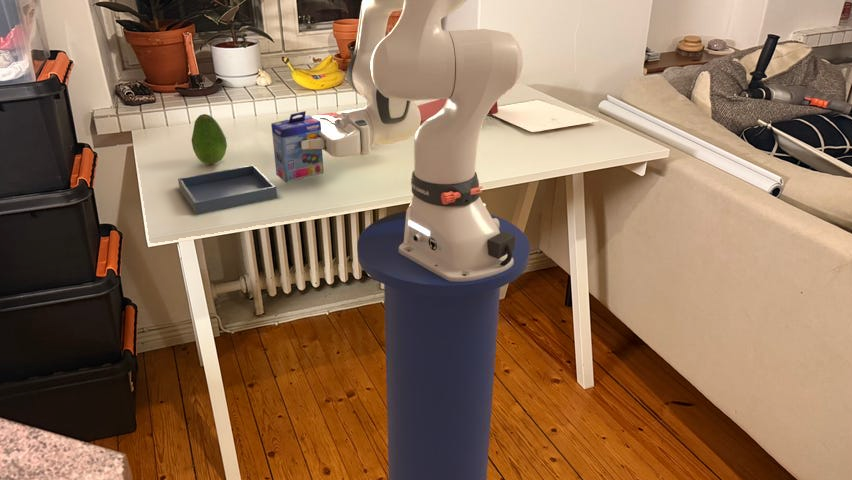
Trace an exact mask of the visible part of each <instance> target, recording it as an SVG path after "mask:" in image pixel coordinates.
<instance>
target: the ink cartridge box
mask: <svg viewBox="0 0 852 480" xmlns="http://www.w3.org/2000/svg"><path fill="white" fill-rule="evenodd" d="M306 112H307V111H305V110H304V111H300V112H295V113H291V114H290V116H289V119H284V120H280V121H276V122H272V123H271V134H272V144H273V155H274V163H275V174H276V176H277V177H278V178H279V179H281V180H282V181H283V182H284V183H289V182H293V181H297V180H302V179H305V178H309V177H313V176H317V175H321V174H324V158H323V149H302V148H301V147H300V144H299V141H300V140H303V139H308V140H309V139H316V138H319V137H321V136H319V135H318V132H319V131H321V121H319V120H317V119H316V118H314V117H312V116H311V115H306ZM297 116H298V117H297Z"/></svg>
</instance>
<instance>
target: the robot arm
mask: <svg viewBox="0 0 852 480" xmlns="http://www.w3.org/2000/svg"><path fill="white" fill-rule="evenodd" d="M467 1H468V0H361V5H360V12H359V17H358V18H359V19H358V26H357V33H356V42H355V47H354V50H353V53H352V56H351V58H350V60H349V63H348V66H347V70H346V79H347V83H348V85H349V87H350V88H351V89H352V90H353V91H354V92H356V94H358V95H360V96H362V97H363V98H364V99H365V100H366V106H365V107H363V108H357V109H349V110H350V111H346V110H343V111H344V112H342V113H341V114H340V116H339V118H337V119H335V118H333V117H331V116H328V115H321V116H317V115H312V116H311V117H314V118H316V119H317V120H319V121H321V131H319V132H318V135H319V136H321V137H319V138H316V139H309V140H308V139H303V140H300V141H299V144H300V147H301V148H302V149H322V151H324V152H326V153H327V154H329V155H330V156H331V157H335V158H343V157H351V156H356V155H361V156H367V155H370V154H371V147H373V146H376V145H391V144H394V143H395V144H396V143H398V142H402V141H405V140H408V139H410V138H412V137H414V138H413V149H414V150H413V171H412V172H411V178H410V186H411V193H412V197H411V199H410V203H409V205H408V207H407V209H406V210H405V211H406V221H405V233H404V242H403V243H402V244H401V245H400V246H399V251H398V252H399V253H400V254H401V255H403V256H405V257H406V258H408V259H410V260H412V261H414V262H415V263H417V264H419V265H421V266H422V267H424V268H426V269H428V270H430V271H431V272H433V273H435V274H437V275H438V276H440V277H442V278H444V279H446V280H448V281H450V282H466V281H473V280H478V279H483V278H487V277H490V276H493V275H496V274H499V273H502V272H504V271H506V270H507V269H509V268H510V267H511V266H512V265H513V264H514V260H513V258H512V251H513V250H514V247H515V235H513V234H510V233H508V232H505V231H503V232H501V233H500V231H499V227H500V224H499V220H498V219H497V218H493V219H492V217H491V216H490V212H489V210H488V209H487V206H486V203H484V202H483V201H482V198H481V193H483V192H484V191H482V189H483V186H480V181H479V178H478V173H477V171H476V161H477V150H478V142H479V136H480V132H481V129H482V126H483V123H484V122H485V119H486V117H487V115H488V114H489V113H488V112H489V111H490V109H491V108H492V106H493V105H494V104H495V103H496V102H497V103H498V101H499V100H500V99H501V98H502V97H503V96H504V95H505V94H506V93H507V92H509V91H510V90H512V88H514V86H515V85H516V83H517V82H518V81H519V78H520V76H521V73H522V71H523V63H524V57H523V53H522V49H521V46H520V44H519V42H518V41H517V40H516V38H515V37H514V35H513V34H511V33H510V32H505V31H500V30H495V29H494V30H493V29H488V28H487V29H486V28H479V29H478V28H477V29H461V30H459V29H458V30H447V29H446V30H444V29H443V28H442V19H444V18H445V17H446V16H448V15H450V14H453V13H454V12H456V11H457V10H458V9H460V8H461V7H462V6H463V5H464V4H465V3H466V2H467ZM397 11H401V14H400V16H399V18H398V20H397V22H396V23H395V25H394V27H393V28H392V29H391V31H390V32H388V34H387V35H386V33H387V29H388V21H389V18H390V16H391V14H392V13H394V12H397ZM439 99H447V101H446V103H445V105H444V107H443V108H442V109H441V110H440V111H439V112H438V113H437V114H436V115H434V116H433V117H431V118H429V119H427V120H426V121H425V122H423V123H422V124H421V126H420V122H421V115H420V111H419V108H418V107H417V106H418V105H417V104H416V103H415V101H434V100H439Z"/></svg>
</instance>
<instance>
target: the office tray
mask: <svg viewBox="0 0 852 480" xmlns="http://www.w3.org/2000/svg"><path fill="white" fill-rule="evenodd" d="M177 182H178V188H179V191H180V192H181V194H182V195H183V197H184V198H185V200H186V201H187V203H188V204H189V206H190V207H191V208H192V210H193V211H194V213H195V214H196V215H200V214H205V213H210V212H216V211H220V210H225V209H230V208H235V207H239V206H245V205H248V204H254V203H259V202H263V201H268V200H273V199H278V190H277V186H276V185H275V184H274V183H273V182H272V181H271V180H270V179H269V178H268V177H267V176H266V175H265V174H264V173H263V172H262V171H261V170H260V169H259V168H258V167H257V166H256V165H255V164H250V165H246V166H240V167H234V168H230V169H223V170H219V171H218V170H217V171H212V172H207V173H202V174H195V175H191V176H184V177H180V178H179V177H178V178H177Z"/></svg>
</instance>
